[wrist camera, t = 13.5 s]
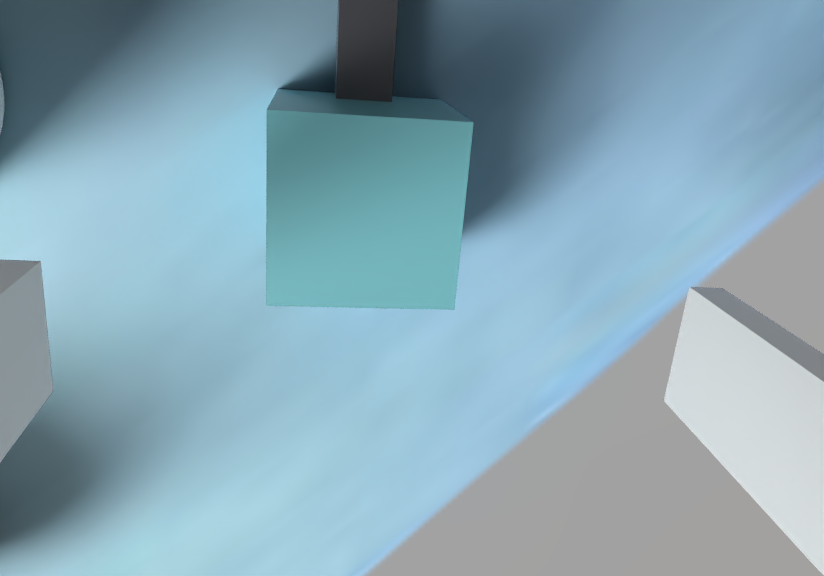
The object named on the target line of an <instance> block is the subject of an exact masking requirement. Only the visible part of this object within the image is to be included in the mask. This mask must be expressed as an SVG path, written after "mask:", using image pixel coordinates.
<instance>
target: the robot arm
mask: <svg viewBox="0 0 824 576" xmlns="http://www.w3.org/2000/svg"><path fill="white" fill-rule="evenodd" d="M52 392H53V382H52V372H51V362H50V351H49V341H48V331H47V321H46V311H45V301H44V291H43V281H42V270H41V261H21V260H0V462H1V461H2V459H3V458H4V457H5V455H6V454H7V453H8V451H9V450H10V449H11V447H12V446H13V445H14V443H15V442H16V441H17V439H18V438H19V437H20V435H21V434H22V433H23V431H24V430H25V428H26V427H27V426H28V424H29V423H30V422H31V420H32V419H33V418H34V416H35V415H36V414H37V412H38V411H39V410H40V408H41V407H42V406H43V404H44V403H45V402H46V400H47V399H48V398H49V396H50V395H51V393H52ZM664 401H665V402H666V403H667V405H668V406H669V407H670V408H671V409H672V410H673V411H674V412H675V413H676V414H677V416H678V417H679V418H680V419H681V420H682V421H683V422H684V423H685V424H686V425H687V426H688V428H689V429H690V430H691V431H692V432H693V433H694V434H695V435H696V436H697V438H699V439H700V441H701V442H702V443H703V444H704V445H705V446H706V447H707V448H708V450H710V452H711V453H712V454H713V455H714V456H715V457H716V458H717V459H718V460H719V461H720V463H721V464H722V465H723V466H724V467H725V468H726V469H727V470H728V471H729V473H730V474H731V475H732V476H733V477H734V478H735V479H736V480H737V481H738V482H739V483H740V484H741V486H742V487H743V488H744V489H745V490H746V491H747V492H748V493H749V494H750V496H751V497H752V498H753V499H754V500H755V501H756V502H757V503H758V504H759V505H760V506H761V508H762V509H763V510H764V511H765V512H766V513H767V514H768V515H769V516H770V517H771V519H772V520H773V521H774V522H775V523H776V524H777V525H778V526H779V527H780V528H781V529H782V530H783V532H784V533H785V534H786V535H787V536H788V537H789V538H790V539H791V540H792V542H793V543H794V544H795V545H796V546H797V547H798V548H799V549H800V550H801V551H802V552H803V554H804V555H805V556H806V557H807V558H808V559H809V560H810V561H811V562H812V563H813V565H814V566H815V567H816V568H817V569H818V570H819V571H820V572H821V573H822V574H823V575H824V354H823V353H821V352H820V351H818V350H817V349H815V348H814V347H812V346H810V345H809V344H807V343H806V342H804V341H803V340H801V339H800V338H798V337H797V336H795V335H794V334H792V333H791V332H789V331H787V330H786V329H784V328H782V327H781V326H780V325H778V324H777V323H775V322H774V321H772V320H771V319H769V318H768V317H766V316H764V315H763V314H761V313H760V312H758V311H757V310H755V309H754V308H752V307H751V306H749V305H747V304H746V303H744V302H743V301H741V300H740V299H738V298H737V297H735V296H734V295H732V294H731V293H729V292H727V291H726V290H725V289H723V288H703V287H689V292H688V296H687V301H686V305H685V309H684V314H683V318H682V323H681V327H680V332H679V336H678V341H677V345H676V349H675V354H674V358H673V363H672V367H671V371H670V376H669V380H668V385H667V389H666V394H665V398H664Z"/></svg>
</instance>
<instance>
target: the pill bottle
mask: <svg viewBox="0 0 824 576" xmlns="http://www.w3.org/2000/svg"><path fill="white" fill-rule="evenodd" d="M3 118H4V90H3V82H2V77H1V72H0V134H1V130H2V125H3Z"/></svg>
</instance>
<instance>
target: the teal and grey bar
mask: <svg viewBox="0 0 824 576" xmlns="http://www.w3.org/2000/svg"><path fill="white" fill-rule="evenodd" d="M397 13H398V0H338V14H337V43H336V71H335V93H333V92H317V91H301V90H286V89H278V90H277V92H276V94H275V96H274V97H273V99H272V101H271V103H270V105H269V107H268V108H267V224H266V306H310V307H355V308H400V309H445V310H454V308H455V299H456V289H457V279H458V270H459V260H460V250H461V241H462V231H463V221H464V211H465V202H466V192H467V182H468V173H469V163H470V153H471V144H472V134H473V124H474V122H473V121H471V120H470V119H468V118H467V117H466V116H464V115H463V114H461V113H460V112H458V111H457V110H456V109H454V108H453V107H451V106H450V105H448V104H447V103H446V102H444V101H443V100H441V99H426V98H410V97H395V96H392V92H393V77H394V61H395V45H396V29H397Z"/></svg>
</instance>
